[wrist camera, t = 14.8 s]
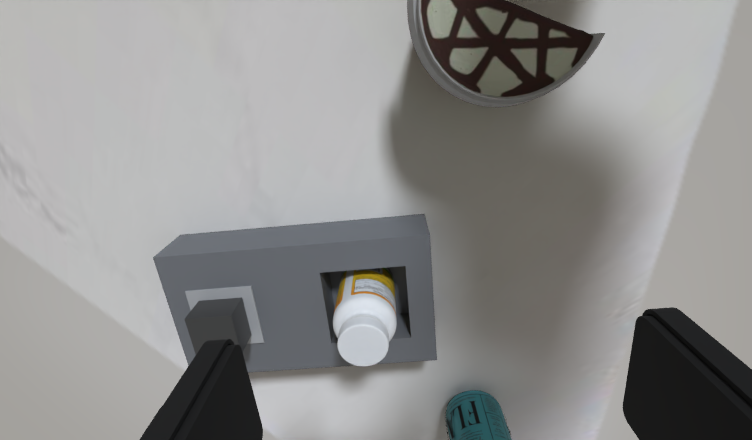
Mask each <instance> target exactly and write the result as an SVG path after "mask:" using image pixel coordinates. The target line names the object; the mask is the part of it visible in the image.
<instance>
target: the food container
mask: <svg viewBox="0 0 752 440" xmlns="http://www.w3.org/2000/svg"><path fill="white" fill-rule="evenodd" d="M407 10H408V24H409V29H410V35H411V39H412V42H413V45H414V48H415V51H416V53H417V55H418V57H419V59H420V61H421V63H422V65H423V66H424V68H425V69H426V70H427V72H428V73H429V74H430V76H431V77H432V78H433V79H434V80H435V81H436V82H437V83H438V84H439V85H440V86H441V87H442V88H443V89H445V90H446V91H447V92H449V93H450V94H452V95H453V96H455V97H457V98H459V99H461V100H464V101H466V102H468V103H472V104H476V105H480V106H488V107H504V106H513V105H517V104H521V103H525V102H528V101H530V100H533V99H535V98H538V97H540V96H543V95H545V94H547V93H549V92H550V91H552V90H554V89H556V88H557V87H559V86H560V85H562V84H563V83H564V82H566V81H567V80H568V79H570V78H571V77H572V76H573V75H574V74H575V73H576V72H577V71H578V70H579V69H580V68H581V67H582V66H583V65H584V64H585V63H586V61H587V60H588V59H589V58H590V56H591V55H592V54H593V52H594V51H595V49H596V48H597V47H598V45H599V43H600V41H601V40H602V38H603V36H604V34H605V33H597V34H588V33H586V32H584V31H582V30H577V29H574V28H571V27H569V26H566V25H564V24H561V23H559V22H556V21H554V20H551V19H549V18H546V17H544V16H541V15H539V14H537V13H534V12H532V11H530V10H527V9H525V8H523V7H520V6H518V5H516V4H513V3H511V2H508V1H505V0H407Z"/></svg>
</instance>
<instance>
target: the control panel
mask: <svg viewBox="0 0 752 440" xmlns="http://www.w3.org/2000/svg"><path fill="white" fill-rule="evenodd" d="M153 259H154V262H155V265H156V268H157V271H158V274H159V277H160V280H161V283H162V286H163V289H164V292H165V295H166V298H167V302H168V305H169V308H170V311H171V314H172V317H173V320H174V323H175V326H176V329H177V332H178V335H179V338H180V341H181V344H182V347H183V350H184V353H185V356H186V359H187V362H188V365H190V363H191V362H192V360H193V359H194V357H195V356H196V354H197V353H198V351H199V350H200V348H201V347H202V345H203V344H204V343H205V342H206V341H208V340H222V339H231V340H232V341H233V342H234V345H240V347H241V349H242V352H243V356H244V360H245V364H246V367H247V371H248V372H262V371H277V370H292V369H307V368H322V367H337V366H353V364H350V363H348V362H347V361H346V360H344V359H343V358H342V356H341V355H340V353H339V351H338V347H337V342H338V338H337V336H336V334H335V332H334V329H333V315H334V310H335V305H336V300H337V295H338V290H339V284H340V279H341V276H342V274H343V272H344V271H348V270H361V269H374V268H387V269H388V270H389V271H390V272H391V274H392V276H393V279H394V286H395V303H396V319H397V326H396V331H395V334H394V336H393V338H392V339H391V340H390V341H389V348H388V352H387V354H386V356H385V357H384V358H383V359H382V360H381V361H380V362H378V363H376V364H383V363H398V362H413V361H428V360H437V354H436V336H435V318H434V300H433V282H432V264H431V246H430V233H429V230H428V226H427V222H426V219H425V215H424V214H420V215H408V216H396V217H385V218H373V219H361V220H350V221H338V222H326V223H315V224H303V225H291V226H280V227H268V228H256V229H245V230H233V231H221V232H210V233H198V234H186V235H180V236H179V237H177V238H176V239H175V240H174V241H173V242H171V243H170V244H169V245H168V246H166V247H165V248H164V249H163V250H162V251H160V252H159V253H158V254H157V255H156V256H154V257H153Z"/></svg>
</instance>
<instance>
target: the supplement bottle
mask: <svg viewBox="0 0 752 440" xmlns="http://www.w3.org/2000/svg"><path fill="white" fill-rule="evenodd" d="M396 326H397V319H396V303H395V286H394V279H393V276H392V274H391V272H390V271H389V270H388V269H387V268H374V269H361V270H348V271H344V272H343V274H342V276H341V279H340V284H339V290H338V295H337V300H336V305H335V310H334V315H333V329H334V332H335V334H336V336H337V338H338V342H337V347H338V351H339V353H340V355H341V356H342V358H343V359H344V360H346V361H347V362H348V363H350V364H353V365H356V366H371V365H374V364H376V363H378V362H380V361H381V360H382V359H383V358H384V357H385V356H386V354H387V352H388V348H389V341H390V340H391V339H392V338H393V336H394V334H395V331H396Z"/></svg>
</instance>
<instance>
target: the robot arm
mask: <svg viewBox="0 0 752 440" xmlns="http://www.w3.org/2000/svg"><path fill="white" fill-rule="evenodd" d="M623 412H624V415H625V418H626V420H627V422H628V424H629V425H630V427H631V428H632V430H633V431H634V433H635V434H636V435H637V437H638V438H639V440H752V369H750V368H749V367H748V366H747V365H746V364H744V363H743V362H742V361H741V360H739V359H738V358H737V357H736V356H735V355H733V354H732V353H731V352H730V351H729V350H727V349H726V348H725V347H724V346H722V345H721V344H720V343H719V342H718V341H717V340H715V339H714V338H713V337H712V336H710V335H709V334H708V333H707V332H705V331H704V330H703V329H702V328H701V327H700V326H698V325H697V324H696V323H695V322H693V321H692V320H691V319H690V318H689V317H687V316H686V315H685V314H684V313H683V312H681V311H680V310H678V309H677V308H659V309H648V310H646V311H645V312H644V313H643V315H642V316H640V317H638V318H637V320H636V324H635V330H634V337H633V343H632V350H631V356H630V363H629V369H628V375H627V382H626V388H625V395H624V401H623ZM262 436H263V429H262V424H261V420H260V416H259V412H258V409H257V405H256V401H255V397H254V394H253V390H252V386H251V382H250V379H249V375H248V371H247V367H246V364H245V360H244V356H243V352H242V349H241V347H240V345H234V342H233V341H232V340H231V339H222V340H208V341H206V342H205V343H204V344H203V345H202V347H201V348H200V350H199V351H198V353H197V354H196V356H195V357H194V359H193V360H192V362H191V363H190V365H189V366H188V368H187V370H186V371H185V373H184V374H183V376H182V377H181V379H180V380H179V382H178V383H177V385H176V386H175V388H174V390H173V391H172V393H171V394H170V396H169V397H168V399H167V400H166V402H165V403H164V405H163V406H162V407H161V408H160V409H159V411H158V413H157V414H156V416H155V417H154V419H153V420H152V422H151V423H150V425H149V426H148V428H147V429H146V431H145V432H144V434H143V435H142V437H141V439H140V440H262Z"/></svg>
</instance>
